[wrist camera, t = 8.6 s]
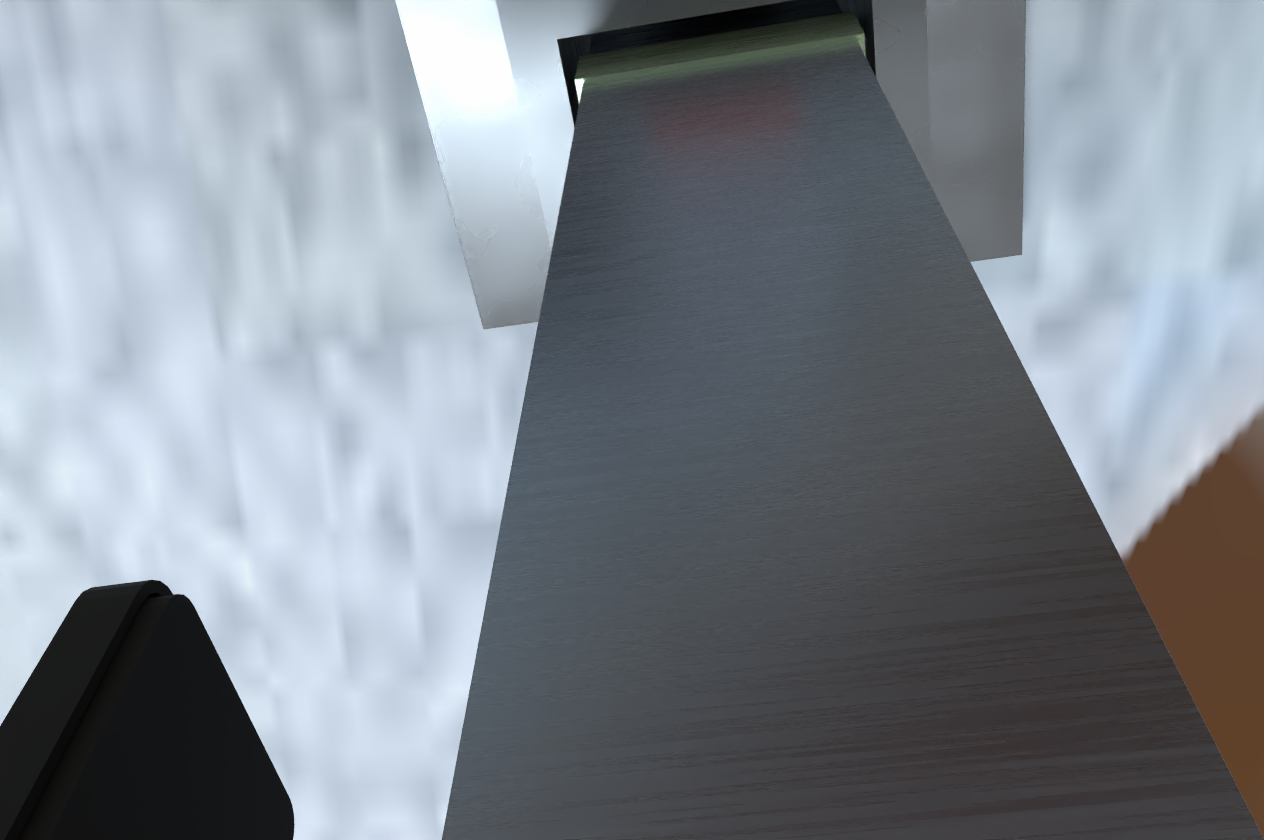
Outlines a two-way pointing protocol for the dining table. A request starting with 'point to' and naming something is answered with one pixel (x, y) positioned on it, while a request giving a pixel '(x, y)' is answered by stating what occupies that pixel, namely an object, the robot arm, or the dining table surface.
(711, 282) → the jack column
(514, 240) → the jack base
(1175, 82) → the dining table surface
